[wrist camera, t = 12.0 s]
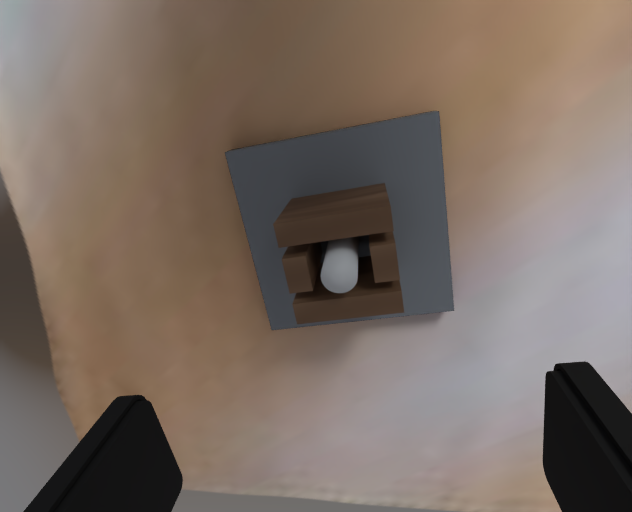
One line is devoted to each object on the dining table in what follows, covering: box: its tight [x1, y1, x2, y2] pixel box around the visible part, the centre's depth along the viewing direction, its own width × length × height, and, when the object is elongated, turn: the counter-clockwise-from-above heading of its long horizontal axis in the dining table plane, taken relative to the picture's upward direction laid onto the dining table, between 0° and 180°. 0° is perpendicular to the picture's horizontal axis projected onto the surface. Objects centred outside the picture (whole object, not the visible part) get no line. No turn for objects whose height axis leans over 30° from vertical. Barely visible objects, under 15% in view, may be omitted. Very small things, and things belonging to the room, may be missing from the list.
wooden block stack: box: [273, 183, 404, 324], centre depth 25 cm, size 6×6×6 cm
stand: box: [225, 111, 454, 330], centre depth 25 cm, size 14×14×8 cm
